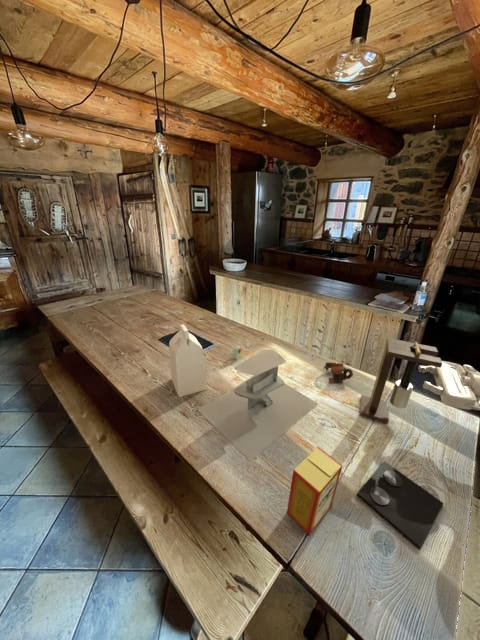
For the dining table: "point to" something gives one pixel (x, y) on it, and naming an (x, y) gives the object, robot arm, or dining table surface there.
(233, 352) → the robot head
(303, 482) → the baking soda box
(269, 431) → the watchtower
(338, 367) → the pottery mug
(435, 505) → the stove
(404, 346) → the stand
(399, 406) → the handle in metal cup
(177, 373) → the milk
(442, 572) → the dining table surface
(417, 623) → the dining table surface
